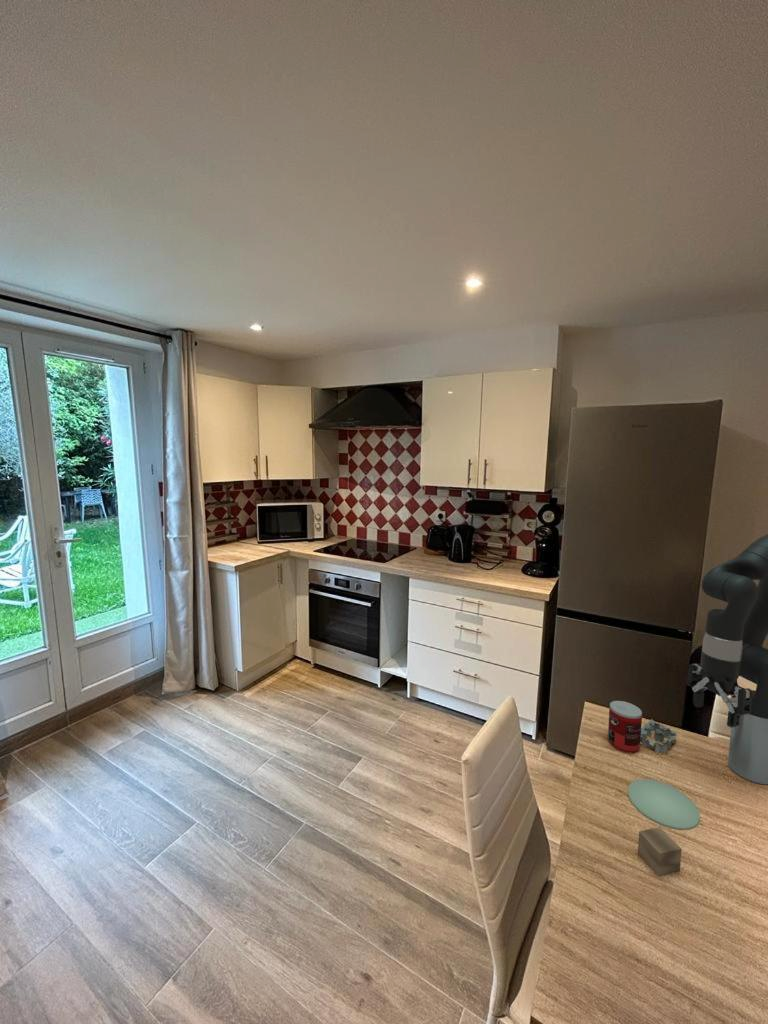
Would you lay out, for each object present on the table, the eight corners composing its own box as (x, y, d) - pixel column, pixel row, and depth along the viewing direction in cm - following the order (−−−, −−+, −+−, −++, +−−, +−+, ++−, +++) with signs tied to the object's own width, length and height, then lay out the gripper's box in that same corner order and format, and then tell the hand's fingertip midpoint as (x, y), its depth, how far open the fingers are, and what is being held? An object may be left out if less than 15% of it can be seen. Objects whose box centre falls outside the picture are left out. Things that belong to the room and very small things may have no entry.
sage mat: (662, 777, 106) (662, 775, 106) (715, 823, 92) (716, 820, 92) (614, 786, 103) (614, 784, 103) (662, 834, 90) (662, 832, 90)
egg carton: (663, 758, 114) (664, 744, 113) (633, 743, 120) (634, 730, 119) (679, 742, 120) (680, 729, 119) (650, 729, 126) (651, 716, 125)
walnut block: (658, 848, 87) (659, 826, 86) (679, 871, 82) (681, 848, 81) (637, 853, 86) (639, 831, 85) (658, 876, 81) (659, 853, 80)
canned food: (610, 732, 124) (612, 697, 123) (641, 743, 119) (644, 707, 118) (604, 745, 118) (606, 709, 117) (637, 757, 113) (639, 719, 112)
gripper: (765, 665, 95) (757, 732, 97) (706, 640, 109) (699, 699, 111) (739, 668, 94) (731, 735, 96) (682, 642, 108) (676, 701, 109)
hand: (714, 715), depth 103 cm, fingers open, 8 cm apart
